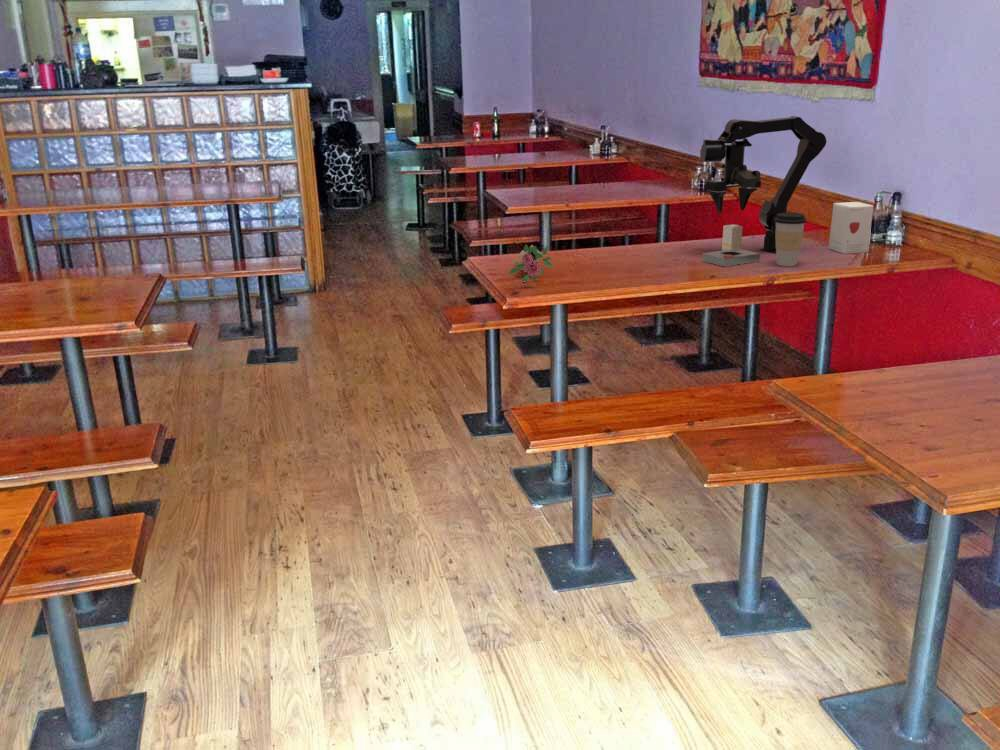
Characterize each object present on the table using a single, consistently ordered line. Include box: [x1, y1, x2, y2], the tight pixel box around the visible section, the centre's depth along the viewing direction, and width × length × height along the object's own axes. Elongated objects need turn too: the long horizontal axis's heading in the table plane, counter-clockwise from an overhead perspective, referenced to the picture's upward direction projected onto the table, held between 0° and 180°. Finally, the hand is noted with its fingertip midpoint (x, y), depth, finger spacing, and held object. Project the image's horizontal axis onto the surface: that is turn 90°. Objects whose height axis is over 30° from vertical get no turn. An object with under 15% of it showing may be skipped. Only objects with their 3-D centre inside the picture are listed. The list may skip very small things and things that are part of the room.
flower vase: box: [508, 244, 554, 282], centre depth 270 cm, size 12×12×35 cm
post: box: [721, 223, 743, 252], centre depth 284 cm, size 4×4×7 cm
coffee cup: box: [774, 212, 808, 267], centre depth 279 cm, size 9×9×15 cm
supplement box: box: [828, 201, 874, 255], centre depth 296 cm, size 9×9×15 cm
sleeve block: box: [701, 248, 761, 267], centre depth 286 cm, size 14×10×3 cm
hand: (731, 211), depth 295 cm, fingers open, 9 cm apart
